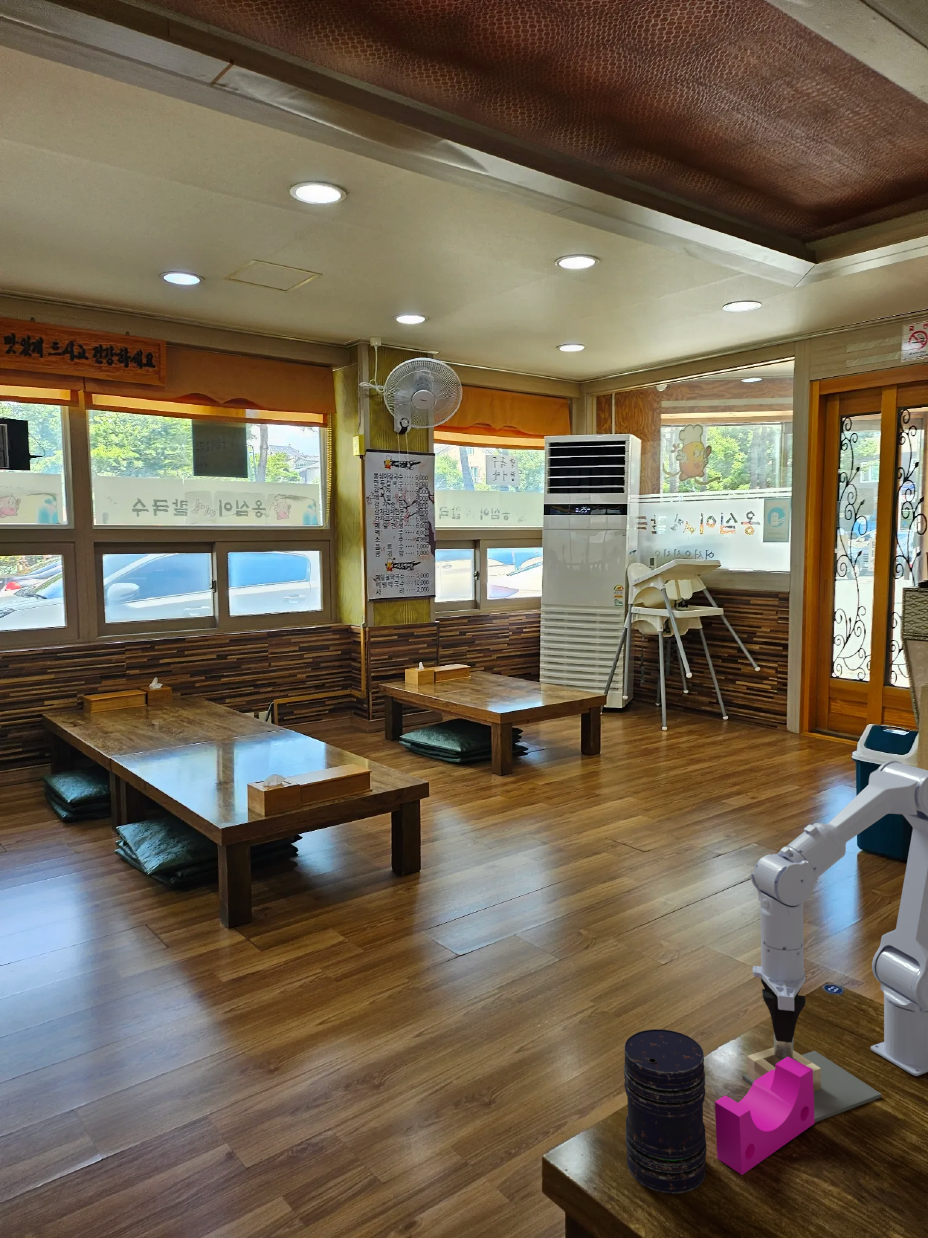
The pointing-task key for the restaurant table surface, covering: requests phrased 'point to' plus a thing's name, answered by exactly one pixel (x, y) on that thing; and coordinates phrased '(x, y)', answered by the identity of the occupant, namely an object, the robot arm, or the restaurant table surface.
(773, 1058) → the birch square frame
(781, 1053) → the metal pin
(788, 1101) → the toy block
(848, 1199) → the restaurant table surface
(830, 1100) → the charcoal mat
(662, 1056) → the dark metal barrel
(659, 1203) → the restaurant table surface
